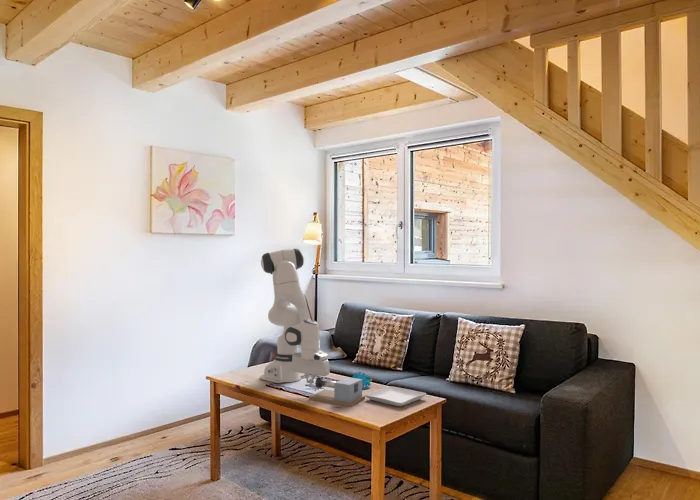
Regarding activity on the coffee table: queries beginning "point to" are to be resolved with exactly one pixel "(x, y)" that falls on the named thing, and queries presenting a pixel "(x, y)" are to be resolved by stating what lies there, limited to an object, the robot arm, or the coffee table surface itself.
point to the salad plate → (395, 396)
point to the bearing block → (342, 393)
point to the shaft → (324, 383)
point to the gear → (363, 380)
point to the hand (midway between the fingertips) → (309, 383)
